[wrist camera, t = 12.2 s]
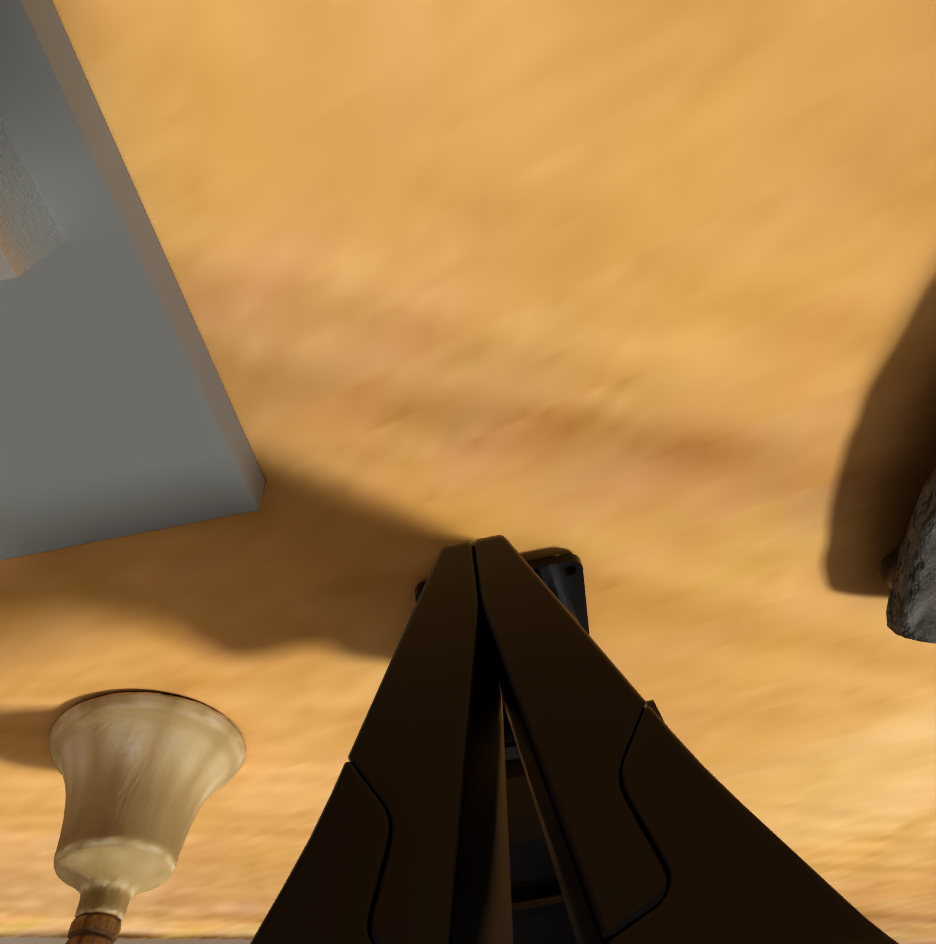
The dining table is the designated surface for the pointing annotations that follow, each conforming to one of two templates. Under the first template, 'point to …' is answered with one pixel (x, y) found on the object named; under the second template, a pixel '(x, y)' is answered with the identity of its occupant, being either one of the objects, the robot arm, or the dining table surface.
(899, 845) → the dining table surface
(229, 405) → the board
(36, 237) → the square hole block
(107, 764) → the hand bell
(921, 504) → the serving board
